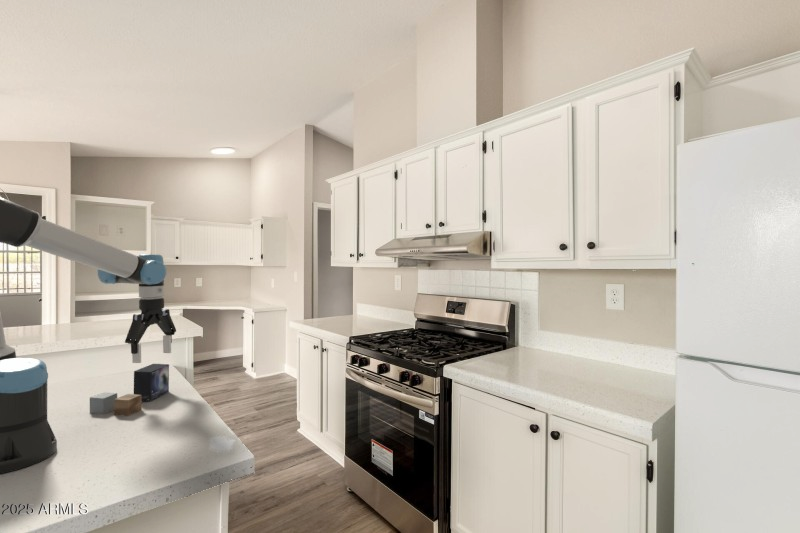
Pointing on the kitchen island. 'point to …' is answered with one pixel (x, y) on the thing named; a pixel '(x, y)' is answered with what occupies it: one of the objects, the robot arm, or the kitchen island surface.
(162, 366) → the small box
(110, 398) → the slate-grey block
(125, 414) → the walnut block
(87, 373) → the kitchen island surface
